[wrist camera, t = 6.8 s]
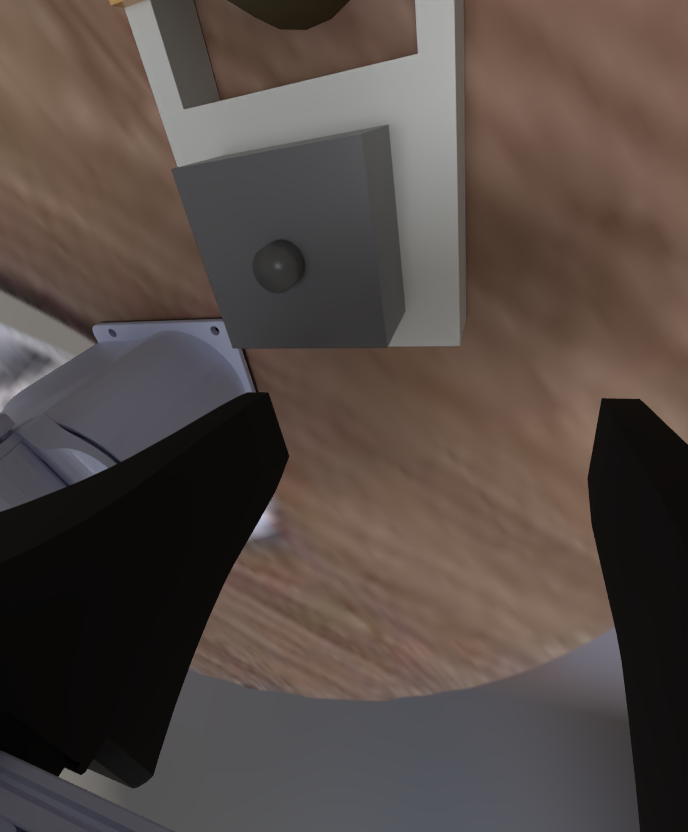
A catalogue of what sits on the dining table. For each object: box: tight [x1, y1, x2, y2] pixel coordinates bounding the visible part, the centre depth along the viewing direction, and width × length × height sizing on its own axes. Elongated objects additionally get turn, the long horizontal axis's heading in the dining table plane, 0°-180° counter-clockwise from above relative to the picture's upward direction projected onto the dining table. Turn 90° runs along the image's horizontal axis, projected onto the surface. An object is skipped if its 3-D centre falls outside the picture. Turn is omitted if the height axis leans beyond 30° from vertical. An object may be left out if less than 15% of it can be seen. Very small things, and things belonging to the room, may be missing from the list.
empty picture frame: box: [109, 0, 466, 349], centre depth 13 cm, size 10×18×6 cm, turn 10°
